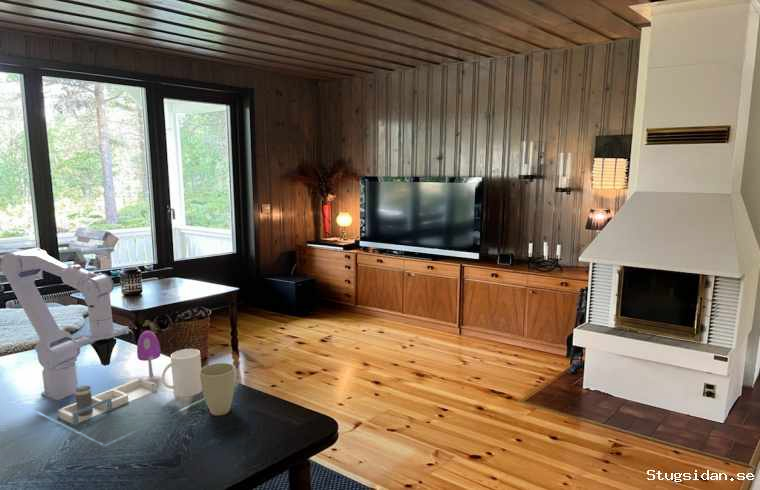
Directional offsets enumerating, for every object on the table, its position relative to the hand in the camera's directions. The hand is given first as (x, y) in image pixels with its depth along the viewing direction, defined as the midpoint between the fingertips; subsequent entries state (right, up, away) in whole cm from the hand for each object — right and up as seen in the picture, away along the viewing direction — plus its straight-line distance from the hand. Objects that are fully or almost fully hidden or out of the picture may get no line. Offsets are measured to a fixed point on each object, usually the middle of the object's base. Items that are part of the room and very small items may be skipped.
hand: (105, 364), depth 150 cm
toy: (+6, -8, +17) cm, 20 cm away
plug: (-1, -11, -8) cm, 14 cm away
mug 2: (+34, -11, -6) cm, 37 cm away
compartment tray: (+2, -11, -2) cm, 11 cm away
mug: (+21, -10, +4) cm, 23 cm away
